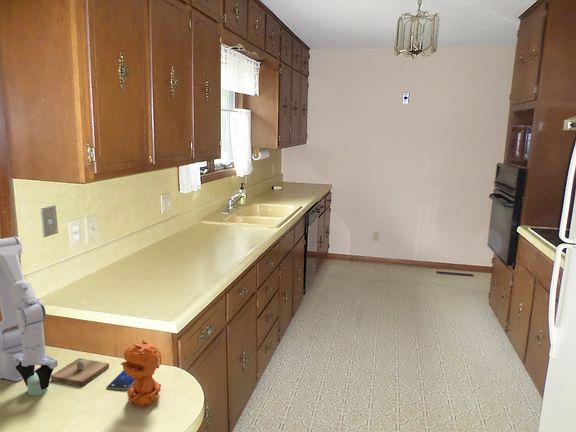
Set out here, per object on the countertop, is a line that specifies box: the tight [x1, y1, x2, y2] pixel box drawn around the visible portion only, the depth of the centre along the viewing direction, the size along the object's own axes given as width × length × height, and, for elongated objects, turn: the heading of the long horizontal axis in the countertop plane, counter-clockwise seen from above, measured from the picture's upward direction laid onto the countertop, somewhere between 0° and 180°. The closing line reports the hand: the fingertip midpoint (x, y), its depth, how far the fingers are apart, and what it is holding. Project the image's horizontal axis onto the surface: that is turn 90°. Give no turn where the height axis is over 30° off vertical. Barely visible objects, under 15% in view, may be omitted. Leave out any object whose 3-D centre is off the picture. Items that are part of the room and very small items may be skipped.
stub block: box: [50, 358, 110, 387], centre depth 142 cm, size 12×12×4 cm
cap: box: [26, 373, 49, 397], centre depth 132 cm, size 5×5×4 cm
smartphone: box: [106, 369, 136, 392], centre depth 140 cm, size 7×1×15 cm
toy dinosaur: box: [120, 340, 162, 407], centre depth 126 cm, size 11×11×18 cm
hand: (37, 386), depth 132 cm, fingers closed on cap, 5 cm apart
